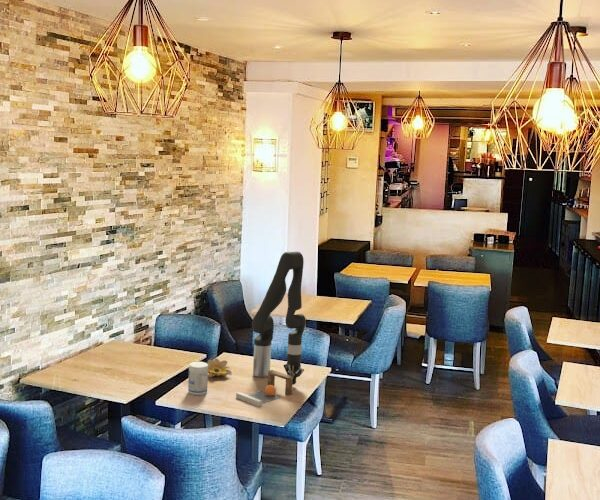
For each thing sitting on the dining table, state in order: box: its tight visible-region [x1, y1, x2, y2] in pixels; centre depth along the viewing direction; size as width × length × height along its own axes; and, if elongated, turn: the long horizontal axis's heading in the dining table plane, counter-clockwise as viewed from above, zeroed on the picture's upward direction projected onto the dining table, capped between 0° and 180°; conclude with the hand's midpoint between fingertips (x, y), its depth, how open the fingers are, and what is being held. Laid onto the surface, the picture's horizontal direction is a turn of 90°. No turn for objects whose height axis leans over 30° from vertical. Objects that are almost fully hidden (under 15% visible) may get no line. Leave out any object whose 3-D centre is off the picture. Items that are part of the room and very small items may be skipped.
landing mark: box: [248, 390, 281, 405], centre depth 345 cm, size 13×13×1 cm
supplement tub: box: [187, 361, 209, 396], centre depth 347 cm, size 10×10×15 cm
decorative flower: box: [206, 357, 232, 378], centre depth 373 cm, size 15×11×10 cm
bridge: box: [267, 369, 294, 397], centre depth 354 cm, size 3×14×9 cm, turn 48°
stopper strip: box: [235, 391, 263, 407], centre depth 339 cm, size 2×16×2 cm, turn 48°
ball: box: [264, 384, 276, 396], centre depth 348 cm, size 6×6×6 cm
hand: (293, 384), depth 362 cm, fingers closed
